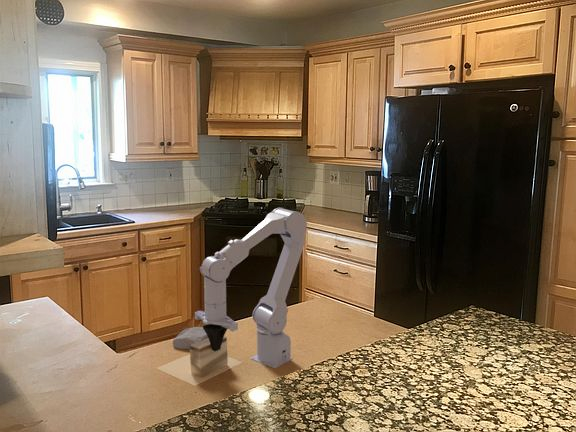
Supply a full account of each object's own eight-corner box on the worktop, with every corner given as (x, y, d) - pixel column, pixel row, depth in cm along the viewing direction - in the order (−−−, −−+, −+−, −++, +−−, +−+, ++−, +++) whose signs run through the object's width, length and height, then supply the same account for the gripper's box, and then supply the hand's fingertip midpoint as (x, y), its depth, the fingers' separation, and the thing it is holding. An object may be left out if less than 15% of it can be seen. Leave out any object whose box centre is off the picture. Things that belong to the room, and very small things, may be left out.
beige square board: (242, 363, 152) (242, 362, 152) (194, 387, 138) (194, 385, 138) (204, 348, 162) (204, 347, 162) (156, 369, 148) (156, 368, 148)
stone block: (171, 355, 162) (201, 352, 160) (168, 340, 162) (198, 336, 159) (186, 341, 174) (215, 338, 171) (183, 327, 173) (212, 323, 171)
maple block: (227, 364, 150) (226, 337, 149) (201, 377, 143) (199, 348, 142) (217, 361, 153) (216, 334, 152) (191, 373, 145) (189, 345, 144)
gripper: (185, 299, 144) (187, 347, 146) (223, 311, 135) (224, 362, 137) (205, 293, 149) (206, 339, 152) (243, 304, 141) (243, 353, 143)
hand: (216, 349), depth 145 cm, fingers closed
